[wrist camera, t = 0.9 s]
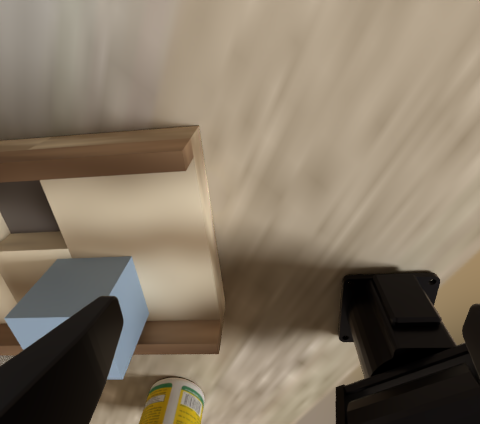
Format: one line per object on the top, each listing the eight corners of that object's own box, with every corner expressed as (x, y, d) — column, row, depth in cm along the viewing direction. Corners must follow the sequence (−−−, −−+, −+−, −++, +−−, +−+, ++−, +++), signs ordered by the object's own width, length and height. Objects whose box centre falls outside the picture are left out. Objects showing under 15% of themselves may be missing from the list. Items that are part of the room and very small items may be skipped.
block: (149, 313, 23) (122, 379, 19) (82, 314, 24) (41, 379, 19) (131, 256, 21) (96, 316, 16) (57, 258, 21) (4, 318, 17)
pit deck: (225, 304, 26) (219, 353, 22) (-10, 309, 28) (-55, 355, 24) (199, 125, 19) (182, 150, 15) (-110, 148, 21) (-196, 176, 17)
